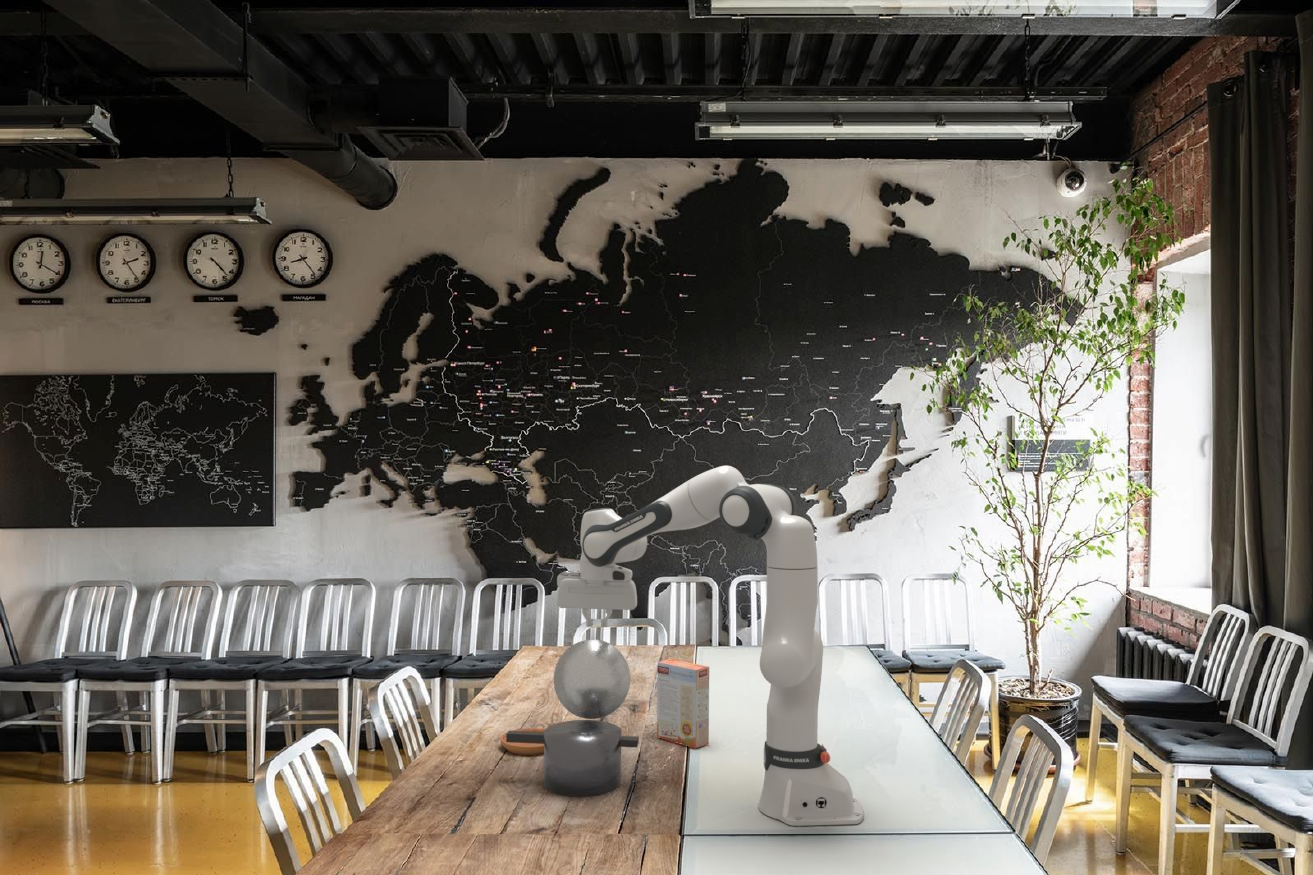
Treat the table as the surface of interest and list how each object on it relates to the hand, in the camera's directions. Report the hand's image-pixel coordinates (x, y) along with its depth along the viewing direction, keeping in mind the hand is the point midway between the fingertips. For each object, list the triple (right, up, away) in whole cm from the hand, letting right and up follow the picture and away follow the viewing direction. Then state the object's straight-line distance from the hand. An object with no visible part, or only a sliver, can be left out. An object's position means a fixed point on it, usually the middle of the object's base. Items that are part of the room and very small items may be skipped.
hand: (596, 626), depth 236 cm
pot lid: (-1, -12, -7) cm, 14 cm away
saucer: (-18, -34, +7) cm, 39 cm away
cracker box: (+22, -34, +13) cm, 43 cm away
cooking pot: (-5, -33, -18) cm, 38 cm away
